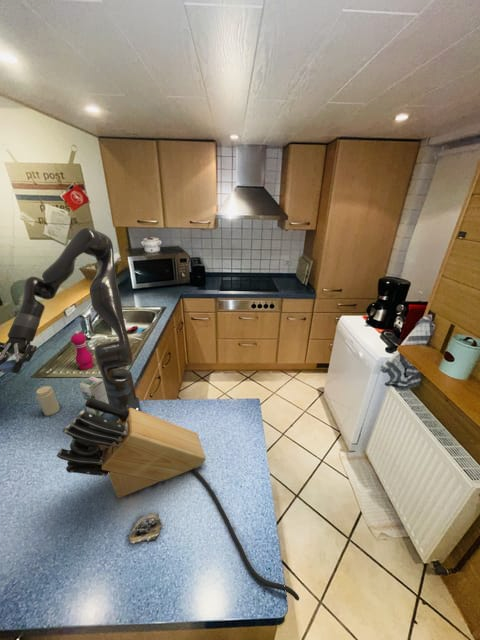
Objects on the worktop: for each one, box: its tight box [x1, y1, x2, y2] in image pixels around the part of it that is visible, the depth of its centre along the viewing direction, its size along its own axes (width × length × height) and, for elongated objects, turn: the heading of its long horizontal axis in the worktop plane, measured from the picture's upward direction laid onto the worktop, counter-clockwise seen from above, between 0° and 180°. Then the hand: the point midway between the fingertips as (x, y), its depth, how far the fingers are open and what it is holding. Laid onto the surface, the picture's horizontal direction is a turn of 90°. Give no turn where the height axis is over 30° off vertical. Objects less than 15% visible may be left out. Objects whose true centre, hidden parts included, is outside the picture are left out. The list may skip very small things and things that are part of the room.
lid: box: [0, 358, 16, 374], centre depth 90 cm, size 6×6×2 cm
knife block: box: [56, 398, 207, 499], centre depth 71 cm, size 11×35×31 cm, turn 113°
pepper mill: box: [70, 330, 95, 370], centre depth 122 cm, size 7×7×20 cm
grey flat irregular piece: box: [128, 512, 163, 545], centre depth 63 cm, size 7×8×2 cm
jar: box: [35, 385, 61, 416], centre depth 97 cm, size 5×5×11 cm
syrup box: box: [79, 375, 109, 417], centre depth 97 cm, size 6×6×14 cm
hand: (6, 372), depth 89 cm, fingers closed on lid, 5 cm apart
